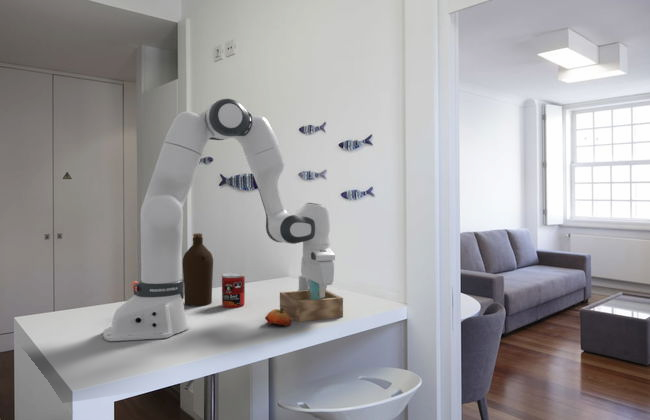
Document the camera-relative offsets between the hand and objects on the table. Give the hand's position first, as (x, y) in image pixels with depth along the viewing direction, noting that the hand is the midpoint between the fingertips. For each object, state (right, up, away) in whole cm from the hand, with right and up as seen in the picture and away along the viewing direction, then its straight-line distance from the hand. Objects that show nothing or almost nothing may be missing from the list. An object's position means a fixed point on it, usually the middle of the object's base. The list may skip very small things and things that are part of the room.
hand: (316, 294), depth 154 cm
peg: (0, -6, 0) cm, 6 cm away
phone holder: (-1, -6, +29) cm, 30 cm away
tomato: (-11, -7, -14) cm, 19 cm away
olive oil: (-42, -6, +14) cm, 45 cm away
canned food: (-29, -6, +11) cm, 32 cm away
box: (-2, -6, -1) cm, 6 cm away
